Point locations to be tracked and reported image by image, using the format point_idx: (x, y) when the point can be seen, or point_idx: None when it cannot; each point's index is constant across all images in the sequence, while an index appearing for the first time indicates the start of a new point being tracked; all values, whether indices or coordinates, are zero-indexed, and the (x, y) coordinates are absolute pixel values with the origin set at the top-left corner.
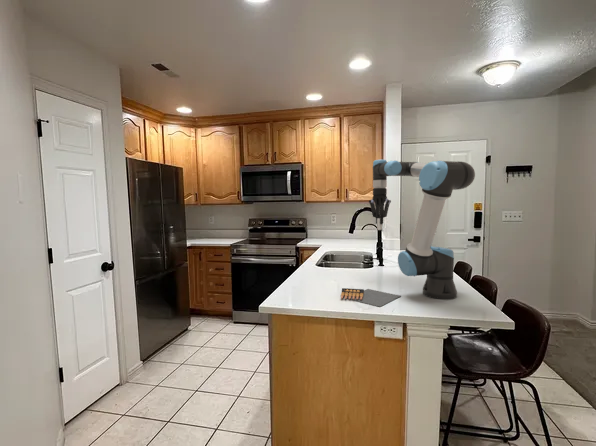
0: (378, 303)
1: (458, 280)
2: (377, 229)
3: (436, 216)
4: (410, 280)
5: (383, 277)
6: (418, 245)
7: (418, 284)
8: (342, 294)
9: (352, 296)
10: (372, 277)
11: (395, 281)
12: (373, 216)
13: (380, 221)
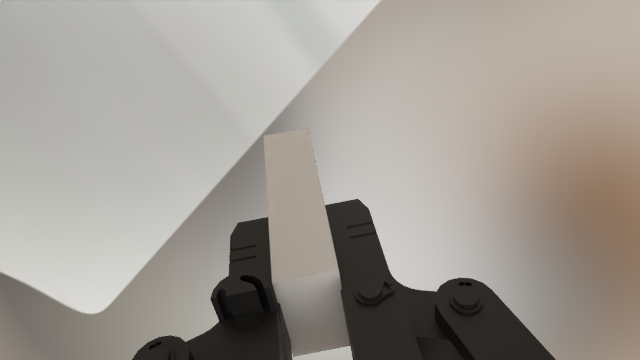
0: None
1: (33, 286)
2: (303, 131)
3: None
4: (157, 125)
5: (303, 63)
6: None
7: (62, 87)
8: None
9: None
10: (351, 8)
11: (189, 40)
12: (464, 286)
13: (268, 252)
